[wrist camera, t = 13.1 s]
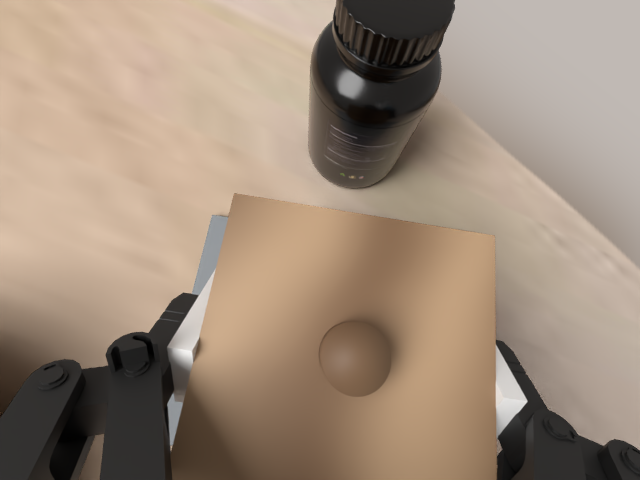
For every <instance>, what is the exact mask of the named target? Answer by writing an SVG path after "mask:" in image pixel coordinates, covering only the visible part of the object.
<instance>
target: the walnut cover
mask: <svg viewBox="0 0 640 480" xmlns="http://www.w3.org/2000/svg"><path fill="white" fill-rule="evenodd" d="M199 336H200V337H199V341H198V346H197V350H196V354H195V358H194V362H193V364H192V368H191V372H190V377H189V381H188V385H187V389H186V393H185V397H184V401H183V405H182V409H181V414H180V418H179V422H178V426H177V430H176V434H175V438H174V442H173V446H172V450H171V455H170V457H171V468H172V480H497V437H496V317H495V236H494V235H488V234H482V233H476V232H469V231H463V230H457V229H451V228H445V227H439V226H433V225H426V224H420V223H414V222H408V221H402V220H396V219H390V218H383V217H377V216H371V215H365V214H359V213H353V212H346V211H340V210H334V209H328V208H322V207H316V206H310V205H303V204H297V203H291V202H285V201H279V200H273V199H266V198H260V197H254V196H248V195H242V194H236V193H234V196H233V200H232V204H231V208H230V212H229V216H228V220H227V225H226V229H225V233H224V237H223V241H222V245H221V249H220V253H219V257H218V262H217V266H216V270H215V274H214V278H213V282H212V286H211V290H210V294H209V299H208V303H207V307H206V311H205V315H204V319H203V323H202V327H201V331H200V335H199Z"/></svg>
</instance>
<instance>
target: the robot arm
mask: <svg viewBox="0 0 640 480" xmlns="http://www.w3.org/2000/svg"><path fill="white" fill-rule="evenodd" d="M215 270H216V269H215ZM215 270H214V272H213V274H212V275H211V277H210V279H209V280H208V282H207V283H206V285H205V287H204V288H203V290H202V291H201V293H200V295H195V294H189V293H182V294H181V295H179V296H178V297H176V298H175V299H173V300H172V301H171V303H170V304H169V305H168V307H167V308H166V310H165V312H163V314H162V315H161V317H160V319H159V320H158V321H157V322H156V323H155V325H154V326H153V328H152V329H151V330H150V332H149V333H145V332H134V333H130V334H127V335H124V336H122V337H120V338H119V339H117V340H115V341H114V342H113V343H112V344H111V345H110V346H109V348H108V350H107V352H106V358H107V361H108V365H109V366H103V367H96V368H88V369H81V366H80V364H79V363H78V362H76V361H74V360H66V359H64V360H58V361H54V362H51V363H49V364H46V365H44V366H42V367H41V368H39V369H38V370H36V371H35V372H33V373H32V374H31V375H30V376H29V377H28V378H27V380H26V381H25V382H24V384H23V385H22V387H21V388H20V390H19V391H18V393H17V394H16V396H15V397H14V399H13V400H12V402H11V403H10V405H9V406H8V408H7V409H6V411H5V412H4V414H3V415H2V417H1V418H0V480H78V478H79V475H80V473H81V470H82V468H83V465H84V463H85V460H86V457H87V455H88V452H89V450H90V447H91V445H92V442H93V440H94V437H95V435H99V434H105V435H104V444H103V454H102V463H101V473H100V480H172V468H171V457H170V455H171V450H170V432H169V415H168V405H167V404H168V402H169V400H170V398H171V396H172V394H173V393H174V400H175V401H176V402H182V403H183V401H184V397H185V393H186V389H187V385H188V381H189V377H190V372H191V368H192V364H193V362H194V358H195V354H196V350H197V346H198V341H199V337H200V336H199V335H200V331H201V327H202V323H203V319H204V315H205V311H206V307H207V303H208V299H209V294H210V290H211V286H212V282H213V278H214V274H215ZM525 373H526V372H525V371H524V369H523V367H522V366H521V365H520V362H519V361H518V359H517V357H516V356H515V354H514V352H513V351H512V350H511V349H510V348H509V347H508V346H507V345H506V344H505V343H504V342H503V341H498V340H496V437H497V439H499V441H500V444H501V446H502V448H503V450H502V451H501V452H500V453H499V454H498V455H497V465H498V466H497V480H640V450H638V449H637V448H635V447H634V446H632V445H630V444H628V443H626V442H624V441H621V440H616V439H614V440H611V441H609V442H608V443H607V444H606V445H604V446H602V445H600V444H598V443H595V442H593V441H591V440H588V439H586V438H584V437H581V436H579V435H578V434H577V433H576V431H575V430H574V429H573V427H572V426H571V425H570V424H569V423H568V422H567V421H566V420H565V419H564V418H562V417H561V416H559V415H558V414H556V413H554V412H552V411H549V410H548V408H547V407H546V405H545V404H544V402H543V400H542V399H541V397H540V395H539V394H538V392H537V390H536V389H535V387H534V385H533V384H532V382H531V380H530V379H529V377H528V375H526V374H525Z"/></svg>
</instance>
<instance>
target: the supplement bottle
mask: <svg viewBox="0 0 640 480" xmlns="http://www.w3.org/2000/svg"><path fill="white" fill-rule="evenodd" d="M454 2H455V0H336V7H335V10H334V15H333V20H332V21H331V22H330V23H329V24H328V25H327V26H326V27H325V29H324V30H323V31H322V32H321V34H320V35H319V37H318V39H317V41H316V43H315V45H314V48H313V51H312V56H311V65H310V95H309V130H308V147H309V154H310V157H311V160H312V162H313V164H314V166H315V167H316V169H317V170H318V171H319V173H320V174H321V175H322V176H324V177H325V178H326V179H327V180H329V181H331V182H333V183H334V184H337V185H340V186H343V187H349V188H361V187H366V186H370V185H372V184H374V183H376V182H378V181H380V180H381V179H383V178H384V177H385V176H386V175H387V174H388V173H389V171H390V170H391V169H392V167H393V166H394V164H395V162H396V161H397V159H398V158H399V156H400V154H401V153H402V151H403V149H404V148H405V146H406V144H407V143H408V141H409V139H410V138H411V136H412V134H413V133H414V131H415V129H416V127H417V126H418V124H419V122H420V121H421V119H422V117H423V116H424V114H425V112H426V111H427V109H428V107H429V106H430V104H431V102H432V100H433V98H434V96H435V95H436V92H437V90H438V87H439V84H440V80H441V58H440V54H439V48H440V46H441V44H442V41H443V37H444V33H445V32H446V29H447V27H448V25H449V23H450V21H451V18H452V14H453V12H454V9H455V4H454Z"/></svg>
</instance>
